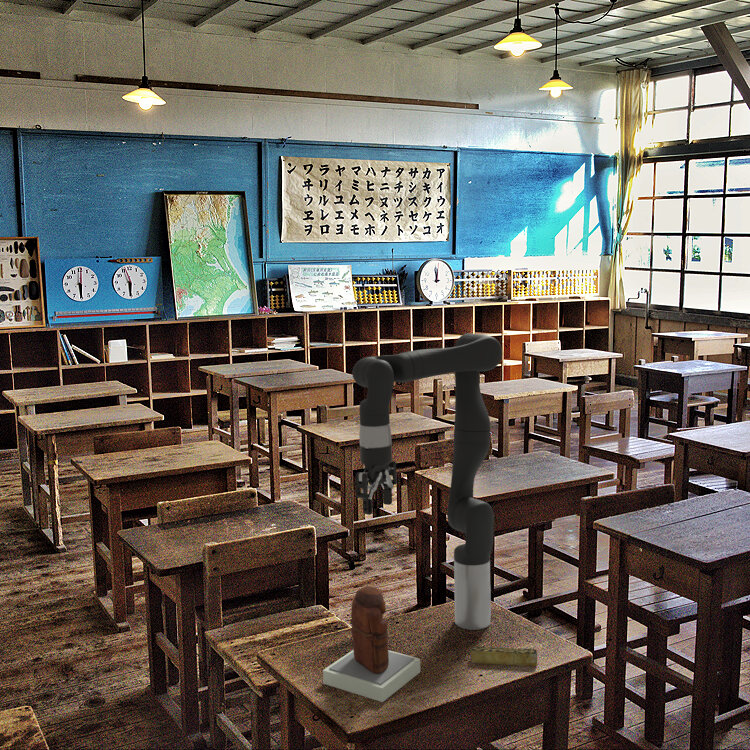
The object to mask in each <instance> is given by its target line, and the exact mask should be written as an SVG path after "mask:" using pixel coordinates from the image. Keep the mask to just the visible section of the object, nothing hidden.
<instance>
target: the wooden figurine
mask: <svg viewBox="0 0 750 750" xmlns="http://www.w3.org/2000/svg"><path fill="white" fill-rule="evenodd" d="M350 610H351V611H350V613H351V614H350V615H351V616H350V617H351V635H352V636H351V639H352V650H354V657H355V660H356V661H357V662H359V663H360V664H362V665H363V666H364V667H365V668H367V669H368V670H369V671H371V672H372V673H376V674H378V673H381V672H383V671H384V670H386V669H387V667H388V664H389V654H388V650H389V634H388V633H389V632H388V620H386V619H385V618H384V616H383V615H385V614H386V611H387V609H386V601H385V599H384V594H383V593H382V591H381V590H380V589H379V588H377V587H375V586H370V585H368V586H365V587H361V588H360V589H358V590H357V591H356V593H355V595H354V598H353V599H352V603H351V609H350Z"/></svg>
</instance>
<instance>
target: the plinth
mask: <svg viewBox="0 0 750 750" xmlns="http://www.w3.org/2000/svg"><path fill="white" fill-rule="evenodd" d="M388 654H389V664H388V667H387V669H386V670H384V671H383V672H381V673H378V674H376V673H372V672H371V671H369V670H368V669H367V668H365V667H364V666H363V665H362V664H360V663H359V662H357V661H356V660H355V657H354V650H353V649H352V650H351V651H349V652H348V653H346V654H345V655H343V656H342V657H340V658H339V659H337V660H336V661H335V662H333V663H331V664H330V665H329V666H327V667H326V668H324V669H323V670H322V680H323V681H322V682H323V683H322V684H323V685H326V686H330V687H333V688H336V689H339V690H343V691H345V692H348V693H352V694H356V695H359V696H362V697H365V698H368V699H370V700H374V701H378V702H381V703H383V702H385V701H386V700H387V699H389V698H390V697H391V696H392V695H394V694H395V693H396V692H397V691H399V690H400V689H401V688H402V687H403V686H405V685H406V684H407V683H408V682H410V681H411V680H412V679H414V678H415V677H416V676H418V674H420V673H421V659H420V658H418V657H415V656H411V655H408V654H404V653H401V652H396V651H393V650H389V649H388Z"/></svg>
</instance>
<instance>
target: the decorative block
mask: <svg viewBox="0 0 750 750" xmlns="http://www.w3.org/2000/svg"><path fill="white" fill-rule="evenodd" d="M470 662H471V664H486V665H488V664H489V665H504V666H505V665H506V666H523V667H537V666H538V652H537V649H534V648H533V649H531V648H513V647H511V648H510V647H508V648H507V647H495V646H493V647H492V646H488V647H487V646H471V647H470Z"/></svg>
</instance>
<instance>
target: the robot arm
mask: <svg viewBox="0 0 750 750" xmlns="http://www.w3.org/2000/svg"><path fill="white" fill-rule="evenodd" d="M502 356H503V349H502V344H501V343H500V341H498V339H496V338H495V337H493V336H491V335H488V334H482V333H463V334H462V335H460V336H459V337H458V339H457V340H456V342H455V346H452V347H441V348H426V349H425V348H424V349H416V350H410V351H404V352H401V353H398V354H392V355H390V354H389V355H388V354H386V355H375V356H366V357H363V358H360V359H359V360H358V361H357V362H355V364H354V366H353V368H352V373H351V374H352V379H353V380H354V381H355V383H356V384H358V386H361V387H363V388H366V389H367V394H366V398H364V399H363V400H361V401H360V403H359V434H358V437H359V459H360V460H359V461H360V463H361V464H363V465H364V469H363V472H356V474H355V494H356V496H355V497H356V498H358V499H362V511H363V514H365V515H368V516H369V515H370V516H371V515H373V514H374V509H373V507H374V506H373V505H374V504H373V496H374V492H376V491H377V489H378V487H379V486H380V485H381V487H382V504H384V505H388V506H390V505H392V504H393V489H394V485H395V486H396V485H398V473H397V472H398V471H397V462H396V460H393V452H392V449H393V448H392V445H393V444H392V443H393V442H392V430H391V424H390V423H391V422H390V404H391V399H392V395H393V388H394V385H395V384H394V383H408V382H413V381H417V380H418V381H419V380H422V379H426V378H431V377H436V376H441V375H446V374H451V373H454V383H455V390H454V391H455V395H454V397H455V398H454V403H455V404H454V424H453V457H452V467H451V481H450V482H451V483H450V486H449V487H450V489H449V494H448V502H447V510H446V511H447V513H446V515H447V522H448V524H449V526H450V528H452V529H454V530H455V531H457V532H460V533H462V534H465V541H464V543H462V544H459V545H457V546H456V547H455V548H454V550H453V564H454V565H453V568H454V569H453V576H454V579H453V580H454V581H453V582H454V583H453V585H454V586H453V587H454V624H455V625H456V626H457V627H459V628H461V629H464V630H468V631H474V630H475V631H476V630H483V629H486V628H488V627H489V626H490V625H491V619H492V617H491V615H492V614H491V612H492V611H491V609H492V605H491V602H492V601H491V600H492V599H491V595H492V594H491V591H492V588H491V587H492V586H491V560H490V559H491V552H492V551H493V546H494V533H495V532H494V528H495V516H494V510H493V507H492V506H491V505H490V504H489V503H488V502H486V501H483V500H480V499H478V498H474V485H475V479H476V474H477V473H478V470H479V468H480V467H481V466H482V464H483V462H484V461H485V458H486V457H487V455H488V453H489V450H490V445H491V419H490V414H489V413H488V409H487V407H486V404H485V401H484V399H483V396H482V392H481V385H480V383H481V382H480V380H481V379H480V376H481V372H488V371H489V372H490V371H491V370H493V369H495V368H496V367H498V365H499V364H500V362H501V360H502V358H503V357H502ZM391 476H392V477H391ZM361 489H362V490H361Z"/></svg>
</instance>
